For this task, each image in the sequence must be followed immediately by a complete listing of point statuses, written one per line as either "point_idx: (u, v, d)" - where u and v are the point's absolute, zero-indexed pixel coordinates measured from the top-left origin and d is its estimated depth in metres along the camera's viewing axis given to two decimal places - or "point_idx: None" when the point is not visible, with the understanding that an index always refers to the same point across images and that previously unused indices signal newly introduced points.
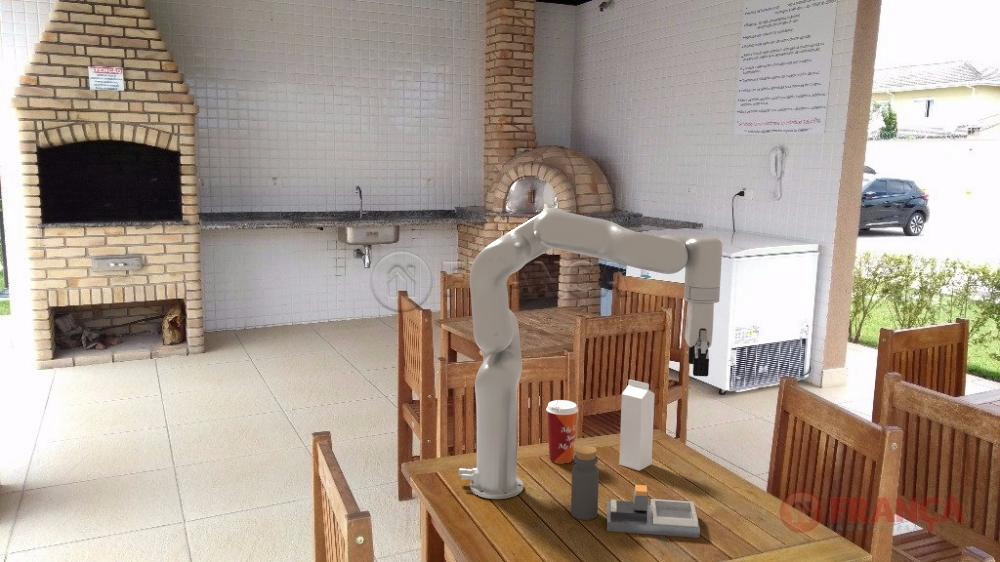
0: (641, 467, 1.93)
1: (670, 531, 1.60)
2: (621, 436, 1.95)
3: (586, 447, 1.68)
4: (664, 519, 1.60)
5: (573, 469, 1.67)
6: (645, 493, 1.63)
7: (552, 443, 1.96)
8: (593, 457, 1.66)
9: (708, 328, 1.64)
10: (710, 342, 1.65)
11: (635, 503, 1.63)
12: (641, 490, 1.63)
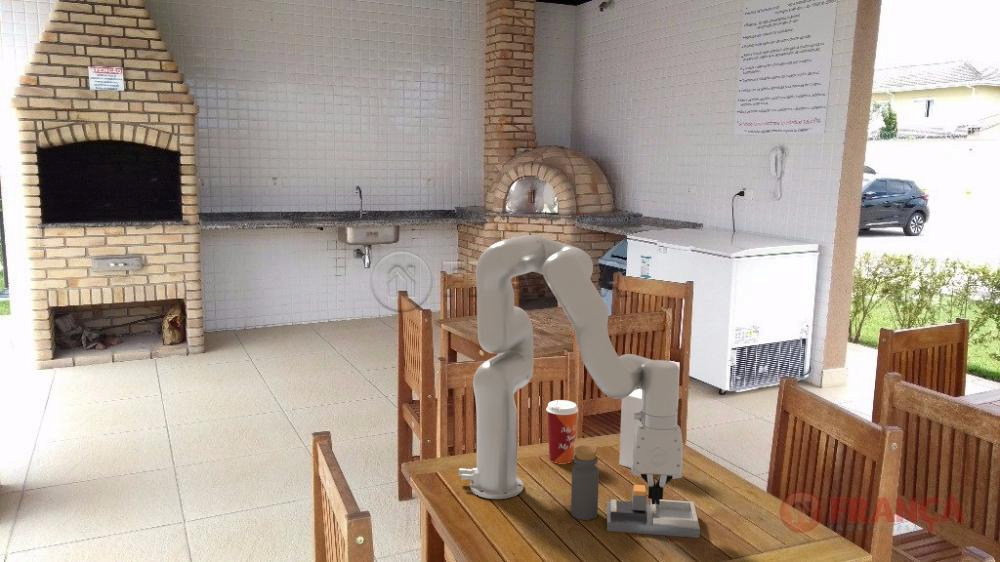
0: None
1: (670, 531, 1.60)
2: (621, 436, 1.95)
3: (586, 447, 1.68)
4: (664, 519, 1.60)
5: (573, 469, 1.67)
6: (644, 493, 1.63)
7: (552, 443, 1.96)
8: (593, 457, 1.66)
9: None
10: None
11: (634, 503, 1.63)
12: (639, 490, 1.63)
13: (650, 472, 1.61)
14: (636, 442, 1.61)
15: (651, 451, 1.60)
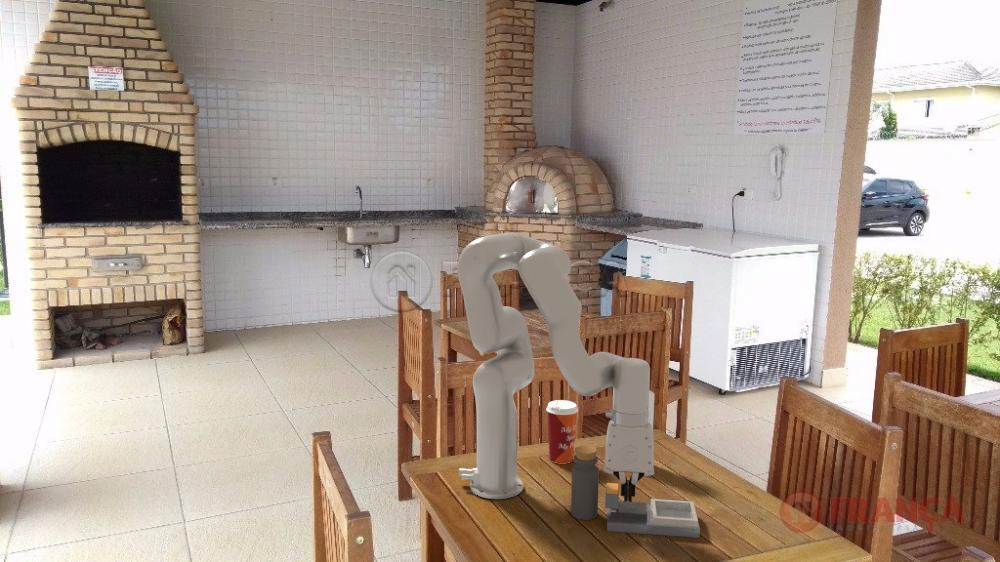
0: None
1: (670, 531, 1.60)
2: None
3: (586, 447, 1.68)
4: (664, 519, 1.60)
5: (573, 469, 1.67)
6: (616, 491, 1.64)
7: (552, 443, 1.96)
8: (593, 457, 1.66)
9: None
10: None
11: (607, 501, 1.64)
12: (612, 488, 1.64)
13: (622, 469, 1.61)
14: (607, 440, 1.61)
15: (622, 448, 1.61)
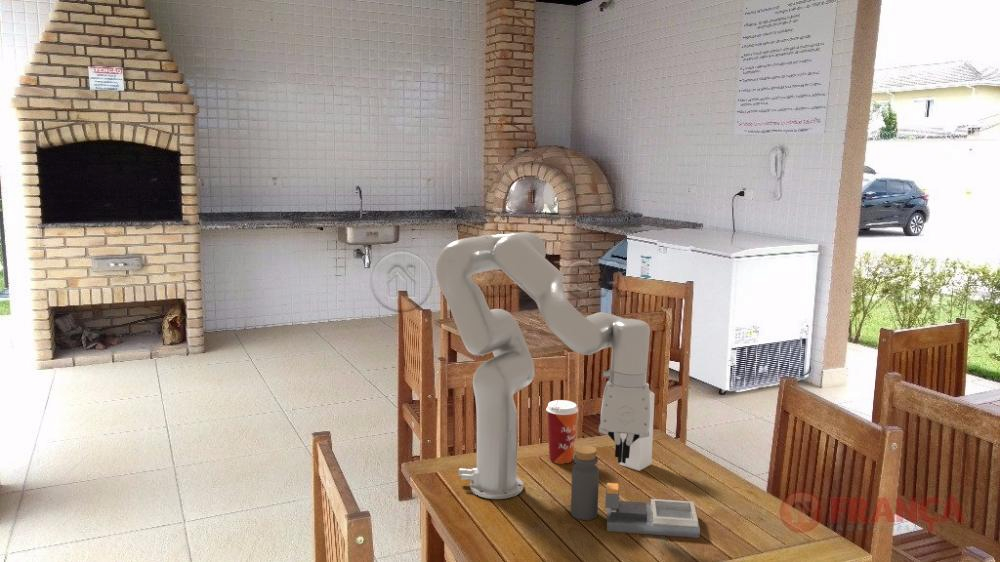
0: (641, 467, 1.93)
1: (670, 531, 1.60)
2: (621, 436, 1.95)
3: (586, 447, 1.68)
4: (664, 519, 1.60)
5: (573, 469, 1.67)
6: (617, 491, 1.64)
7: (552, 443, 1.96)
8: (593, 457, 1.66)
9: None
10: None
11: (607, 501, 1.64)
12: (612, 488, 1.64)
13: (617, 430, 1.60)
14: (604, 400, 1.60)
15: (619, 409, 1.60)
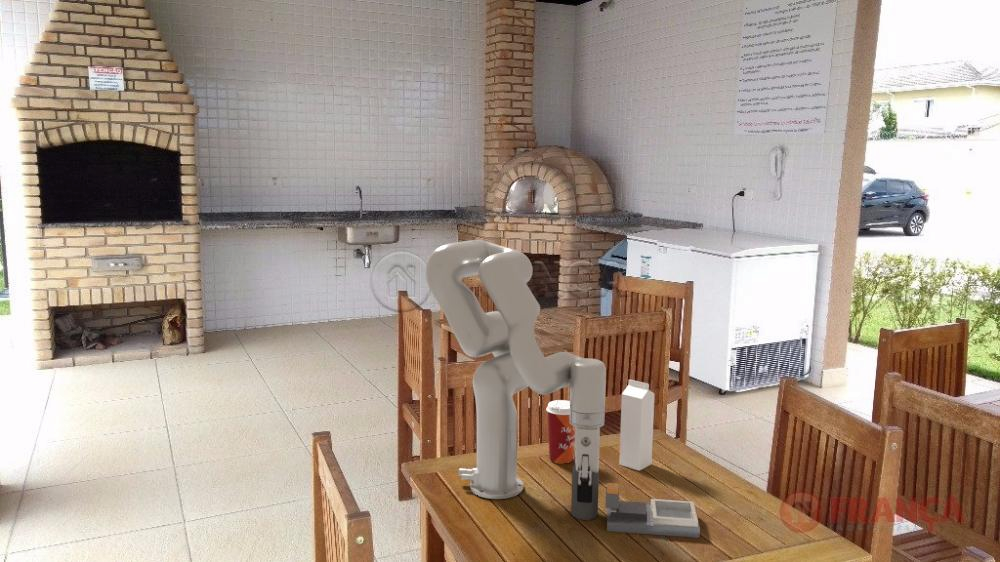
0: (641, 467, 1.93)
1: (670, 531, 1.60)
2: (621, 436, 1.95)
3: None
4: (664, 519, 1.60)
5: (573, 469, 1.67)
6: (617, 491, 1.64)
7: (552, 443, 1.96)
8: None
9: None
10: None
11: (607, 501, 1.64)
12: (612, 488, 1.64)
13: None
14: (596, 444, 1.62)
15: None
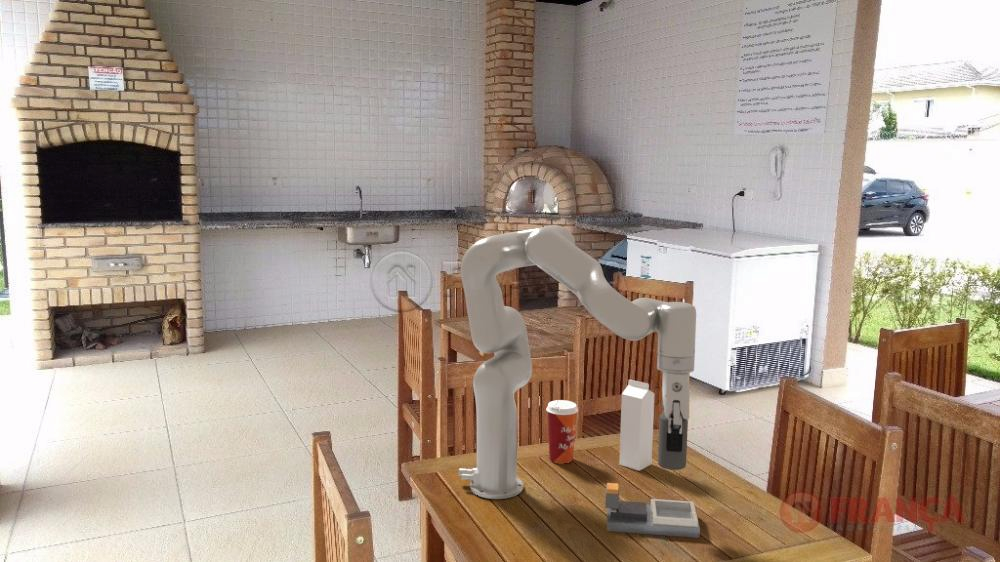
0: (641, 467, 1.93)
1: (670, 531, 1.60)
2: (621, 436, 1.95)
3: None
4: (664, 519, 1.60)
5: (661, 417, 1.60)
6: (617, 491, 1.64)
7: (552, 443, 1.96)
8: None
9: None
10: None
11: (607, 501, 1.64)
12: (612, 488, 1.64)
13: None
14: (687, 389, 1.55)
15: None
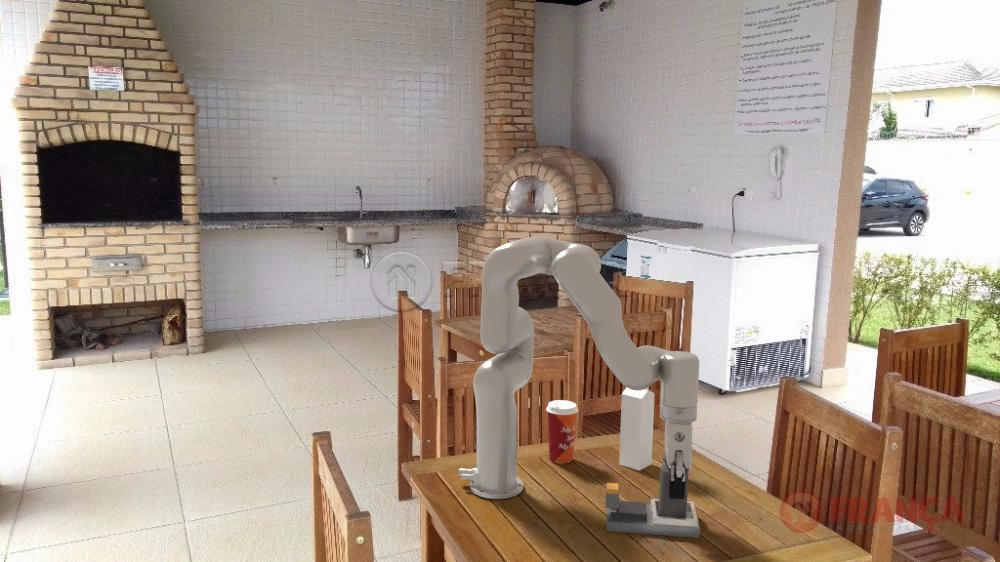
0: (641, 467, 1.93)
1: (670, 531, 1.60)
2: (621, 436, 1.95)
3: None
4: (664, 519, 1.60)
5: (662, 469, 1.62)
6: (617, 491, 1.64)
7: (552, 443, 1.96)
8: None
9: None
10: None
11: (607, 501, 1.64)
12: (612, 488, 1.64)
13: None
14: (690, 439, 1.57)
15: None
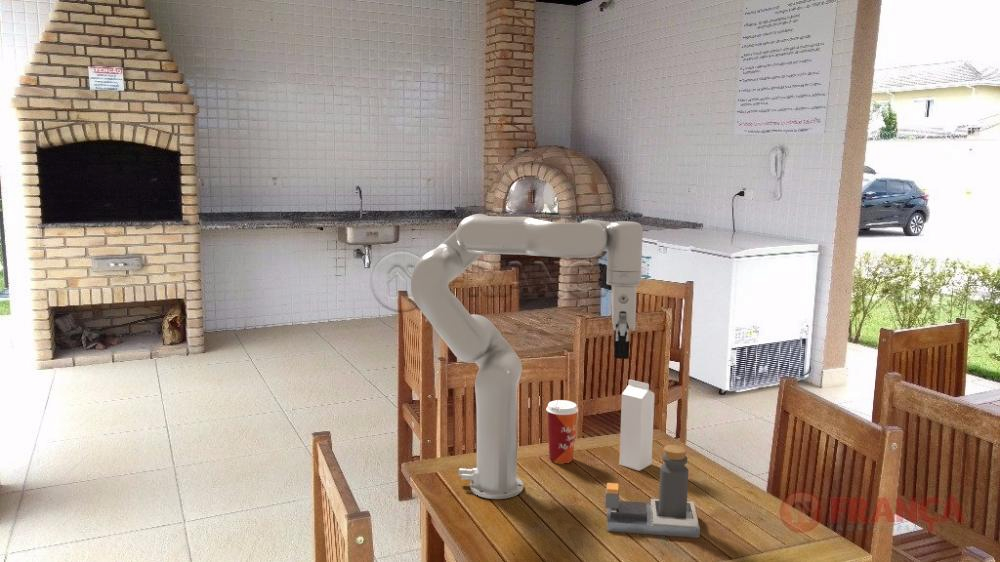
0: (641, 467, 1.93)
1: (670, 531, 1.60)
2: (621, 436, 1.95)
3: (675, 446, 1.63)
4: (664, 519, 1.60)
5: (662, 469, 1.62)
6: (617, 491, 1.64)
7: (552, 443, 1.96)
8: (683, 457, 1.61)
9: None
10: None
11: (607, 501, 1.64)
12: (612, 488, 1.64)
13: None
14: (633, 301, 1.66)
15: None
